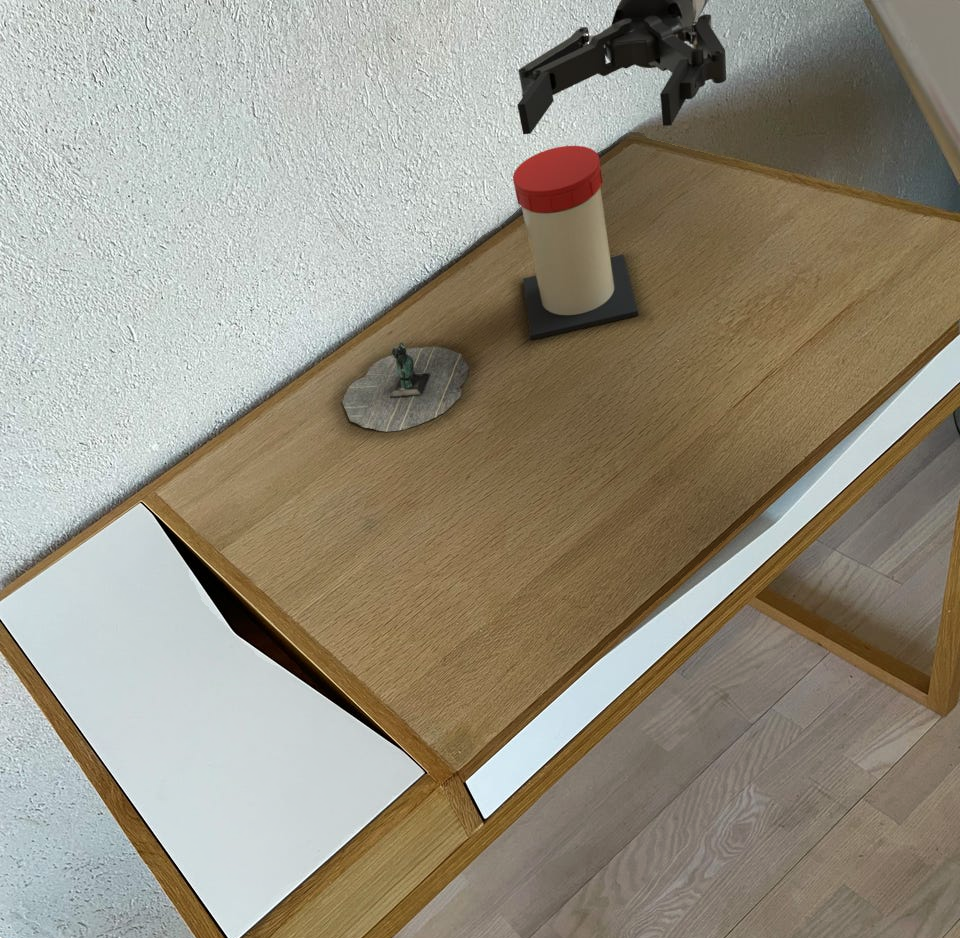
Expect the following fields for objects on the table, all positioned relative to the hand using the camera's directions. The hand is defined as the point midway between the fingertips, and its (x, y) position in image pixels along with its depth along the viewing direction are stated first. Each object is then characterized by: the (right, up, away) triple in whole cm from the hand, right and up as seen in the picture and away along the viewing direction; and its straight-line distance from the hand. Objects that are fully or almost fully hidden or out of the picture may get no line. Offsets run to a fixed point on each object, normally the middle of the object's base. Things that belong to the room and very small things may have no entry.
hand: (592, 115), depth 86 cm
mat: (-1, -15, +4) cm, 16 cm away
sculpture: (-17, -24, +2) cm, 30 cm away
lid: (-4, -8, -5) cm, 10 cm away
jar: (-1, -15, +4) cm, 15 cm away
